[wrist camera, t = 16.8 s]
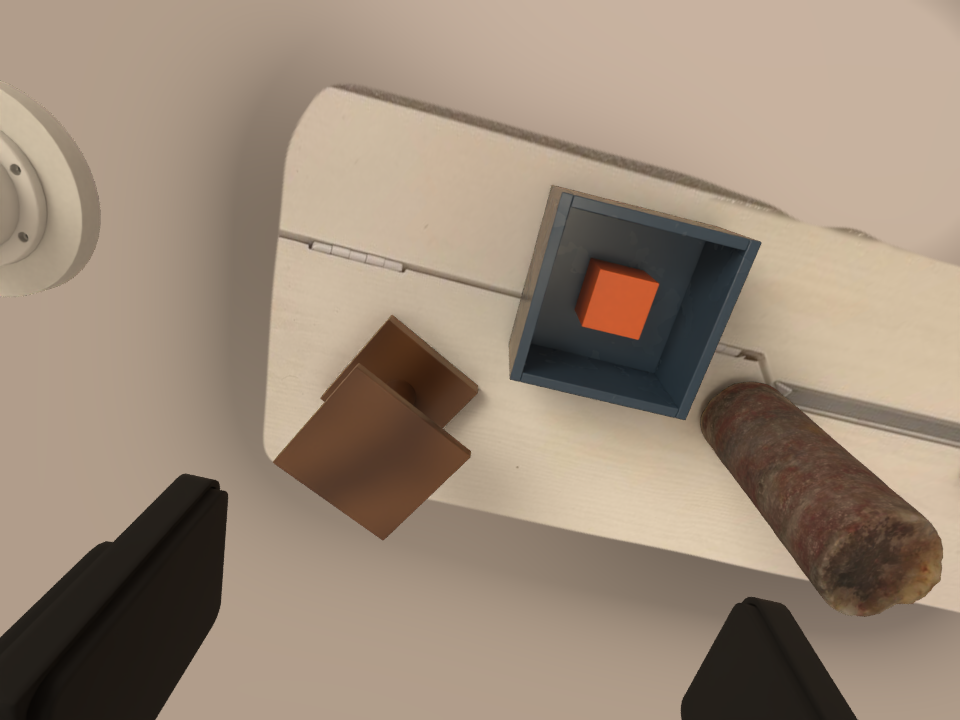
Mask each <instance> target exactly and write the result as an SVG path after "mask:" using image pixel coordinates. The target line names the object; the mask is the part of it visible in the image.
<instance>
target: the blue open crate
mask: <svg viewBox="0 0 960 720" xmlns="http://www.w3.org/2000/svg"><path fill="white" fill-rule="evenodd" d="M760 245H761V242H760V241H757V240H754V239H752V238H749V237H746V236H743V235H740V234H737V233H734V232H731V231H728V230H726V229H723V228H720V227H717V226H713V225H709V224H705V223H701V222H697V221H693V220H689V219H685V218H681V217H677V216H673V215H669V214H665V213H661V212H657V211H653V210H649V209H645V208H642V207H638V206H634V205H630V204H626V203H622V202H618V201H614V200H610V199H606V198H602V197H598V196H594V195H590V194H586V193H582V192H578V191H574V190H570V189H566V188H562V187H558V186H554V185H552V186H551V190H550V194H549V197H548V201H547V205H546V208H545V212H544V216H543V219H542V223H541V227H540V230H539V234H538V238H537V241H536V245H535V249H534V252H533V256H532V260H531V263H530V267H529V271H528V274H527V278H526V282H525V285H524V289H523V293H522V296H521V300H520V304H519V307H518V311H517V315H516V318H515V322H514V326H513V330H512V333H511V337H510V341H509V371H510V380H514V381H519V382H523V383H528V384H532V385H536V386H540V387H545V388H549V389H553V390H558V391H562V392H566V393H570V394H575V395H579V396H583V397H588V398H592V399H596V400H600V401H605V402H609V403H613V404H618V405H622V406H626V407H630V408H635V409H639V410H643V411H648V412H652V413H656V414H660V415H665V416H669V417H673V418H678V419H682V420H686V417H687V415H688V413H689V410H690V408H691V406H692V403H693V401H694V399H695V396H696V394H697V392H698V389H699V387H700V385H701V382H702V380H703V378H704V375H705V373H706V371H707V368H708V366H709V364H710V362H711V359H712V357H713V355H714V352H715V350H716V348H717V345H718V343H719V341H720V338H721V336H722V334H723V331H724V329H725V327H726V324H727V322H728V320H729V317H730V315H731V313H732V310H733V308H734V306H735V303H736V301H737V299H738V297H739V294H740V292H741V290H742V287H743V285H744V283H745V280H746V278H747V276H748V273H749V271H750V269H751V266H752V264H753V262H754V259H755V257H756V255H757V252H758V250H759V248H760ZM591 258H594V259H598V260H603V261H607V262H611V263H615V264H619V265H623V266H627V267H631V268H635V269H639V270H643V271H645V272H646V273H647V274H648V275H650V276H651V277H652V278H653V279H654V280H656V281H657V282H658V283H659V287H658V289H657V292H656V295H655V297H654V300H653V303H652V305H651V308H650V311H649V314H648V316H647V319H646V322H645V324H644V327H643V330H642V333H641V335H640V338H639V340H636V339H632V338H628V337H624V336H620V335H616V334H611V333H607V332H603V331H599V330H595V329H591V328H586V327H582V325H581V323H580V321H579V319H578V316H577V314H576V312H575V307H576V303H577V300H578V297H579V294H580V291H581V288H582V284H583V281H584V278H585V275H586V272H587V268H588V265H589V262H590V259H591Z"/></svg>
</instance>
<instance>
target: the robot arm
mask: <svg viewBox="0 0 960 720" xmlns="http://www.w3.org/2000/svg"><path fill="white" fill-rule="evenodd" d="M46 221H47V207H46V199H45V195H44V191H43V188H42V185H41V182H40V180H39V178H38V176H37V173H36V171H35V169H34V168H33V166H32V165H31V163H30V161H29V160H28V158H27V157H26V155H25V154H24V153H23V152H22V151H21V149H20V148H19V147H18V146H17V145H16V144H15V142H14V141H12V140H11V139H10V138H9V137H8V136H7V135H6V134H5V133H3V132H2V131H1V130H0V266H5V265H9V264H12V263H16V262H18V261H20V260H22V259H24V258H26V257H28V256H29V255H30V254H31V253H32V252H33V251H34V250H35V249H36V248H37V246H38V245H39V243H40V242H41V240H42V238H43V235H44V232H45V229H46ZM227 506H228V493H227V492H226V491H222V490H220V485H219V482H218V481H216V480H213V479H208V478H204V477H199V476H194V475H190V474H182V475H181V476H179V477H178V478H177V479H176V480H175V481H174V482H173V483H172V484H171V485H170V486H169V487H168V488H167V489H166V490H165V491H164V492H163V493H162V494H161V495H160V496H159V497H158V498H157V499H156V500H155V501H154V502H153V503H152V504H151V505H150V506H149V507H148V508H147V509H146V510H145V511H144V512H143V513H142V514H141V515H140V516H139V517H138V518H137V519H136V520H135V521H134V522H133V523H132V524H131V525H130V526H129V527H128V528H127V529H126V530H125V531H124V532H123V533H122V534H121V535H120V536H119V537H118V538H117V539H116V540H115V541H114V542H107V541H106V542H103V543H101V544H98V545H97V546H96V547H94V548H93V549H92V550H91V551H89V553H87V554H86V555H85V556H84V557H83V558H82V559H81V560H80V561H79V562H78V563H77V564H76V565H75V566H74V567H73V568H72V569H71V570H70V571H69V572H68V573H67V574H66V575H64V576H63V578H61V580H59V581H58V582H57V583H56V584H55V585H54V586H53V587H52V588H51V589H50V590H49V591H48V592H47V593H46V594H45V595H44V596H43V597H42V598H41V599H40V600H39V601H38V602H36V603H35V604H34V605H33V606H32V607H31V608H30V609H29V610H28V611H27V612H26V613H25V614H24V615H23V616H22V617H21V618H20V619H19V620H18V621H17V622H16V623H15V624H14V625H13V626H12V627H11V628H10V629H9V630H7V631H6V632H5V633H4V634H3V636H1V637H0V720H155V719H156V718H157V716H158V714H159V713H160V711H161V710H162V708H163V706H164V705H165V703H166V701H167V700H168V698H169V696H170V695H171V693H172V691H173V690H174V688H175V686H176V685H177V683H178V682H179V680H180V678H181V677H182V675H183V674H184V672H185V670H186V669H187V667H188V665H189V664H190V662H191V661H192V659H193V657H194V655H195V654H196V652H197V651H198V649H199V647H200V646H201V644H202V642H203V641H204V639H205V638H206V636H207V634H208V633H209V631H210V629H211V628H212V626H213V624H214V622H215V620H216V618H217V615H218V612H219V609H220V605H221V594H222V593H221V592H222V579H223V565H224V563H223V562H224V550H225V535H226V521H227ZM681 718H682V720H857V718H856V716H855V715H854V713H853V712H852V710H851V708H850V707H849V705H848V704H847V702H846V700H845V699H844V697H843V696H842V694H841V693H840V691H839V689H838V688H837V686H836V685H835V683H834V682H833V680H832V678H831V677H830V675H829V673H828V672H827V670H826V669H825V667H824V665H823V664H822V662H821V661H820V659H819V658H818V656H817V654H816V653H815V651H814V649H813V648H812V646H811V645H810V643H809V641H808V640H807V638H806V637H805V635H804V634H803V632H802V630H801V629H800V627H799V625H798V624H797V622H796V621H795V619H794V617H793V616H792V614H791V613H790V611H789V610H788V609H787V607H786V606H785V605H783V604H781V603H777V602H773V601H768V600H763V599H759V598H755V597H748V598H746V599H745V600H744V601H743V602H742V603H737V604H736V605H735V606H734V607H733V609H732V611H731V613H730V614H729V616H728V618H727V620H726V621H725V624H724V625H723V627H722V629H721V630H720V632H719V634H718V636H717V638H716V640H715V641H714V643H713V645H712V647H711V649H710V651H709V652H708V654H707V656H706V658H705V659H704V661H703V663H702V665H701V667H700V669H699V670H698V672H697V674H696V676H695V677H694V679H693V681H692V683H691V685H690V687H689V688H688V690H687V692H686V694H685V696H684V697H683V700H682V704H681Z"/></svg>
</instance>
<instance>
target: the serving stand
mask: <svg viewBox="0 0 960 720" xmlns="http://www.w3.org/2000/svg"><path fill="white" fill-rule="evenodd" d="M477 393H478V386H477V385H476V384H475V383H474V382H473V381H471V380H470V379H469V378H468V377H467V376H465V375H464V374H463V373H462V372H461V371H459V370H458V369H457V368H456V367H455V366H453V365H452V364H451V363H450V362H448V361H447V360H446V359H445V358H444V357H442V356H441V355H440V354H439V353H438V352H436V351H435V350H434V349H433V348H432V347H430V346H429V345H428V344H427V343H426V342H424V341H423V340H422V339H421V338H420V337H418V336H417V335H416V334H415V333H413V332H412V331H411V330H410V329H409V328H407V327H406V326H405V325H404V324H403V323H401V322H400V321H399V320H398V319H397V318H395V317H394V316H393V315H391V316H390V317H389V319H388V320H387V321H386V322H385V323H384V324H383V325H382V327H381V328H380V329H379V330H378V331H377V332H376V334H375V335H374V336H373V337H372V338H371V339H370V341H369V342H368V343H367V344H366V345H365V346H364V347H363V349H362V350H361V351H360V352H359V353H358V354H357V356H356V357H355V358H354V359H353V360H352V361H351V363H350V364H349V365H348V366H347V367H346V368H345V369H344V371H343V372H342V373H341V374H340V375H339V376H338V378H337V379H336V380H335V381H334V382H333V383H332V384H331V386H330V387H329V388H328V389H327V390H326V391H325V393H324V394H323V395H322V397H321V399H322V400H323V401H324V403H323V404H322V406H321V407H320V408H319V409H318V410H317V411H316V412H315V414H314V415H313V416H312V417H311V418H310V419H309V421H308V422H307V423H306V424H305V425H304V426H303V427H302V429H301V430H300V431H299V432H298V433H297V434H296V435H295V437H294V438H293V439H292V440H291V441H290V442H289V443H288V445H287V446H286V447H285V448H284V449H283V450H282V452H281V453H280V454H279V455H278V456H277V457H276V459H275V460H274V461H273V463H274V464H275V465H277V466H278V467H280V468H281V469H283V470H284V471H285V472H287V473H288V474H290V475H291V476H293V477H294V478H295V479H297V480H298V481H299V482H301V483H302V484H304V485H305V486H307V487H308V488H309V489H311V490H312V491H314V492H315V493H317V494H318V495H319V496H321V497H322V498H323V499H325V500H326V501H328V502H329V503H331V504H332V505H333V506H335V507H336V508H338V509H339V510H341V511H342V512H343V513H345V514H346V515H348V516H349V517H350V518H352V519H353V520H355V521H356V522H357V523H359V524H360V525H362V526H363V527H365V528H366V529H367V530H369V531H370V532H372V533H373V534H374V535H376V536H377V537H379V538H380V539H381V540H384V539H385V538H387V537H388V535H390V534H391V533H392V532H393V531H394V530H395V529H396V528H397V527H398V526H399V525H400V524H401V523H402V522H403V521H404V520H405V519H406V518H407V517H408V516H410V515H411V514H412V513H413V512H414V511H415V510H416V509H417V508H418V507H419V506H420V505H421V504H422V503H423V502H424V501H425V500H426V499H427V498H428V497H429V496H430V495H431V494H433V493H434V492H435V491H436V490H437V489H438V488H439V487H440V486H441V485H442V484H443V483H444V482H445V481H446V480H447V479H448V478H449V477H450V476H451V475H452V474H453V473H454V472H455V471H457V470H458V469H459V468H460V467H461V466H462V465H463V464H464V463H465V462H466V461H467V460H468V459H469V458H470V457H471V451H470V450H469V449H467V448H466V447H465V446H464V445H462V444H461V443H460V442H459V441H457V440H456V439H455V438H454V437H452V436H451V435H450V434H448V433H447V432H446V431H445V430H443V429H442V428H443V427H444V426H445V425H446V424H447V423H448V422H449V421H450V420H451V419H452V418H453V417H454V416H455V415H456V414H457V413H458V412H459V411H460V410H461V409H462V408H463V407H464V406H465V405H466V404H467V403H468V402H469V401H470V400H471V399H472V398H473V397H474V396H475V395H476V394H477Z"/></svg>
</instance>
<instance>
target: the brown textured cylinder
mask: <svg viewBox="0 0 960 720" xmlns="http://www.w3.org/2000/svg"><path fill="white" fill-rule="evenodd" d="M701 428H702V432H703V435H704V437H705V439H706V440H707V442H708V443H709V444H710V446H711V447H712V448H713V450H714V451H715V453H716V454H717V456H718V457H719V458H720V460H721V462H722V463H723V464H724V465H725V466H726V468H727V469H728V470H729V472H730V473H731V474H732V476H733V477H734V478H735V479H736V481H737V482H738V483H739V485H740V486H741V488H742V489H743V490H744V492H745V493H746V494H747V496H748V497H749V498H750V500H751V501H752V502H753V504H754V505H755V506H756V508H757V509H758V510H759V512H760V513H761V515H762V516H763V517H764V519H765V520H766V521H767V522H768V524H769V525H770V527H771V528H772V529H773V531H774V533H775V534H776V536H777V537H778V538H779V540H780V541H781V542H782V544H783V545H784V546H785V547H786V549H787V550H788V551H789V553H790V554H791V555H792V557H793V558H794V560H795V561H796V563H797V564H798V566H799V567H800V568H801V570H802V571H803V572H804V574H805V575H806V576H807V578H808V579H809V580H810V582H811V583H812V584H813V586H814V587H815V588H816V590H817V591H818V592H819V594H820V595H821V596H822V598H823V599H824V600H825V601H826V603H827V604H829V605H830V606H831V607H832V608H834V609H835V610H837V611H839V612H841V613H843V614H845V615H850V616H852V615H856V616H864V617H865V616H871V615H875V614H880V613H881V612H883V611H884V610H886V609H888V608H890V607H892V606H894V605H895V604H913V603H914V602H915V601H916V600H920V599H921V598H923V597H925V596H926V595H927V593H928V592H930V591H931V590H932V588H933V586H935V585H936V584H937V583H938V582H940V580H941V571H942V564H941V561H942V558H943V547H942V543H941V538H940V537H939V536H938V534H937V531H936V530H935V528H934V527H933V525H932V524H931V523H930V522H929V521H928V520H927V519H926V518H925V517H924V516H923V515H922V514H921V513H919V512H918V511H917V510H916V509H915V508H914V507H912V506H911V505H910V504H909V503H907V502H906V501H905V500H904V499H903V498H901V497H900V496H899V495H898V494H896V493H895V492H894V491H893V490H892V489H890V488H889V487H888V486H887V485H886V484H885V483H884V482H883V481H882V480H881V479H879V478H878V477H877V476H876V475H875V474H874V473H872V472H871V471H870V470H869V469H868V468H867V467H865V466H864V465H863V464H862V463H861V462H859V461H858V460H857V459H856V458H855V457H853V456H852V455H851V454H850V453H849V452H848V451H847V450H846V449H844V448H843V447H842V446H841V445H840V444H838V443H837V442H836V441H835V440H834V439H833V438H831V437H830V436H829V435H828V434H827V433H826V432H825V431H824V430H822V429H821V428H820V427H819V426H818V425H817V424H816V423H814V422H813V421H812V420H811V419H810V418H809V417H808V416H807V415H806V414H804V413H803V412H802V411H801V410H800V409H799V408H797V407H796V406H795V405H794V404H793V403H792V402H790V401H789V400H788V399H787V398H786V397H784V396H783V395H782V394H781V393H780V392H778V391H777V390H776V389H774V388H773V387H771V386H769V385H767V384H762V383H757V382H743V383H737V384H733V385H732V386H729V387H728V388H727V389H725V390H723V391H722V392H721V393H719V394H718V395H717V396H715V397H714V398H713V399H712V400H711V401H710V402H709V404H708V406H707V407H706V409H705V411H704V412H703V414H702V416H701Z"/></svg>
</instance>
